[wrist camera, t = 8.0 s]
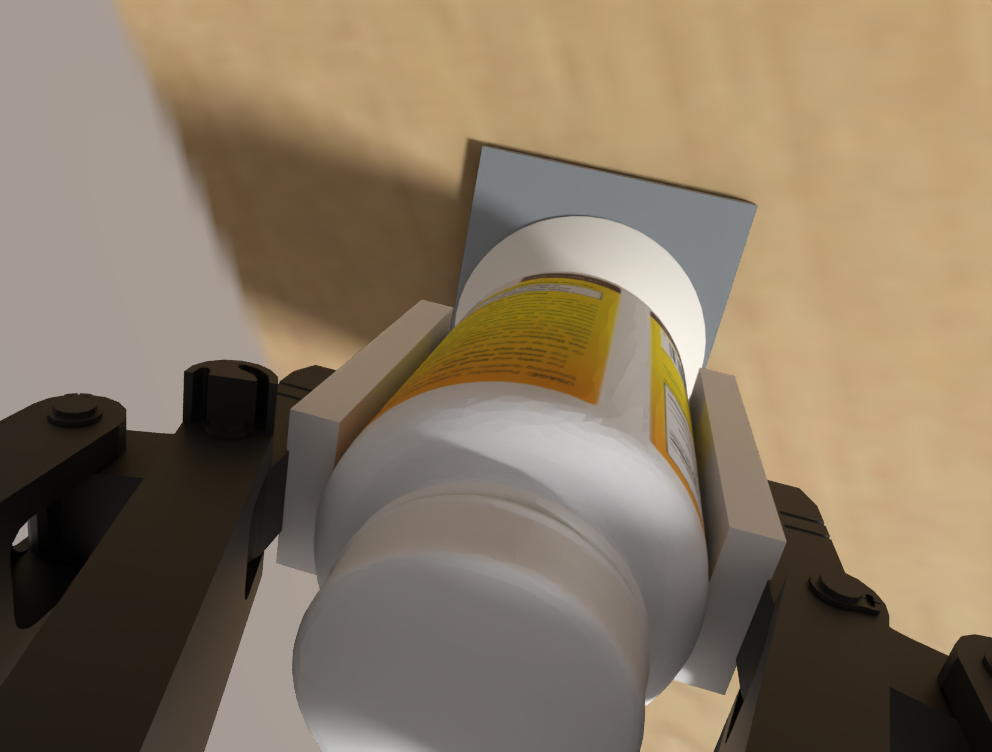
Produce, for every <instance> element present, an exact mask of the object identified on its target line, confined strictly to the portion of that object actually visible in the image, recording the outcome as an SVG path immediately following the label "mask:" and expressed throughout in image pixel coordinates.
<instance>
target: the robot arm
mask: <svg viewBox="0 0 992 752" xmlns="http://www.w3.org/2000/svg"><path fill="white" fill-rule="evenodd" d="M452 312H453V307H450V306H446V305H442V304H438V303H434V302H430V301H425V300H420V301H419V302H418V303H417V304H416V305H414V306H413V307H412V308H411V309H410V310H408V311H407V312H406V313H405V314H404V315H402V316H401V317H400V318H399V319H398V320H396V321H395V322H394V323H393V324H392V325H390V326H389V327H388V328H387V329H386V330H384V331H383V332H382V333H381V334H380V335H378V336H377V337H376V338H375V339H374V340H372V341H371V342H370V343H369V344H368V345H366V346H365V347H364V348H363V349H362V350H360V351H359V352H358V353H357V354H356V355H354V356H353V357H352V358H351V359H350V360H348V361H347V362H346V363H345V364H344V365H343V366H341V367H340V368H339V369H338V370H333V369H329V368H325V367H321V366H317V365H314V366H310V367H307V368H303V369H300V370H296V371H293V372H292V373H291V374H289V375H288V376H286V377H285V378H284V379H282V380H281V381H280V383H279V384H278V377H277V376H276V375H275V374H274V373H273V372H272V371H271V370H270V369H267V368H265V367H263V366H261V365H259V364H254V363H250V362H245V361H236V360H215V361H207V362H203V363H199V364H196V365H193V366H191V367H190V368H188V369H187V370H186V371H184V394H183V397H184V398H183V422H182V424H181V425H180V427H179V428H178V430H177V431H176V433H175V434H165V433H152V432H141V431H130V430H126V409H125V408H124V407H123V406H122V405H121V404H120V403H119V402H117V401H114V400H111V399H109V398H106V397H100V396H94V395H91V394H84V393H83V394H82V393H80V395H78V394H77V393H74V394H66V395H64V396H58V397H52V398H48V399H45V400H42V401H40V402H37V403H34V404H32V405H30V406H28V407H26V408H24V409H22V410H20V411H18V412H17V413H15V414H13V415H11V416H9V417H7V418H5V419H3V420H1V421H0V752H204V750H205V747H206V744H207V741H208V738H209V735H210V732H211V729H212V726H213V723H214V720H215V717H216V714H217V711H218V708H219V705H220V702H221V699H222V696H223V693H224V690H225V686H226V683H227V680H228V677H229V674H230V671H231V668H232V665H233V662H234V659H235V656H236V653H237V650H238V647H239V644H240V641H241V638H242V635H243V631H244V628H245V626H246V622H247V619H248V616H249V613H250V610H251V607H252V604H253V601H254V598H255V595H256V592H257V589H258V586H259V583H260V579H261V577H262V570H263V557H264V550H265V549H266V548H267V547H268V546H269V544H270V543H271V542H272V541H273V540H274V539H275V537H276V536H277V535H278V534H279V538H278V549H277V559H276V560H277V561H276V563H278V564H281V565H285V566H288V567H291V568H294V569H298V570H301V571H305V572H308V573H311V574H315V575H317V574H316V567H315V561H314V535H315V525H316V518H317V512H318V507H319V504H320V501H321V498H322V494H323V491H324V489H325V487H326V485H327V483H328V481H329V479H330V477H331V475H332V473H333V471H334V469H335V467H336V465H337V464H338V462H339V461H340V459H341V458H342V456H343V455H344V454H345V452H346V451H347V450H348V448H349V447H350V446H351V444H352V443H353V441H354V440H355V439H356V438H357V437H358V435H359V434H360V433H361V432H362V431H363V429H364V428H365V427H366V426H367V425H368V424H369V423H370V422H371V421H372V420H373V418H374V417H375V416H376V415H377V414H378V413H379V412H380V410H381V409H382V408H383V407H384V406H385V404H386V403H387V402H388V401H389V399H390V398H392V396H393V395H394V394H395V393H396V392H397V391H398V390H399V389H400V388H401V387H402V386H403V384H404V383H405V382H406V381H407V380H408V379H409V378H410V377H411V376H412V374H413V373H414V372H415V371H416V370H417V369H418V368H419V367H420V365H421V364H422V363H423V362H424V361H425V360H426V359H427V358H428V356H429V355H430V354H431V353H432V352H433V351H434V350H435V349H436V348H437V347H438V345H439V344H440V343H441V342H442V341H443V340H444V339H445V338H446V336H447V335H448V334H449V330H450V324H451V318H452ZM689 409H690V415H691V422H692V430H693V438H694V445H695V455H696V461H697V471H698V479H699V488H700V496H701V504H702V513H703V521H704V530H705V537H706V545H707V554H708V576H709V588H708V599H707V606H706V611H705V616H704V621H703V624H702V627H701V630H700V634H699V636H698V639H697V641H696V644H695V646H694V649H693V651H692V653H691V655H690V657H689V659H688V660H687V662H686V663H685V665H684V666H683V667H682V669H681V670H680V671H679V673H678V674H677V675H676V676H675V678H674V680H675V681H679V682H682V683H685V684H689V685H692V686H696V687H699V688H702V689H706V690H709V691H713V692H716V693H719V694H723V695H725V693H726V690H727V688H728V685H729V683H730V680H731V678H732V676H733V673H734V671H735V668H736V666H737V670H738V676H739V683H740V689H739V692H738V694H737V697H736V699H735V701H734V704H733V706H732V709H731V711H730V713H729V716H728V718H727V721H726V723H725V725H724V728H723V730H722V733H721V735H720V738H719V740H718V742H717V745H716V747H715V750H714V752H992V638H991V637H986V636H981V635H975V634H974V635H967V636H961V637H960V639H959V640H958V641H957V642H956V644H955V645H954V647H953V649H952V651H951V653H950V654H949V656H948V655H945V654H943V653H941V652H939V651H937V650H935V649H932V648H930V647H928V646H926V645H924V644H921V643H919V642H917V641H915V640H913V639H911V638H909V637H907V636H905V635H903V634H901V633H899V632H897V631H895V630H893V629H892V628H890V627H889V614H888V611H887V608H886V605H885V603H884V602H883V601H882V600H881V599H880V597H879V596H878V595H877V594H876V593H875V592H874V591H873V590H872V589H870V588H869V587H868V586H866V585H865V584H864V583H862V582H861V581H859V580H858V579H856V578H854V577H852V576H850V575H848V574H846V573H845V571H844V569H843V567H842V564H841V562H840V559H839V557H838V555H837V552H836V550H835V547H834V545H833V543H832V540H830V539H829V537H830V536H829V533H828V531H827V528H826V526H824V521H823V519H822V516H821V514H820V512H819V509H818V507H817V505H816V504H815V503H814V502H813V501H812V500H811V499H810V498H809V497H808V496H807V495H806V494H805V493H804V492H803V491H802V490H801V489H799V488H796V487H792V486H788V485H785V484H781V483H777V482H773V481H769V480H767V478H766V475H765V471H764V468H763V465H762V462H761V459H760V455H759V452H758V449H757V446H756V443H755V440H754V436H753V433H752V430H751V427H750V424H749V420H748V417H747V414H746V411H745V408H744V404H743V401H742V398H741V395H740V392H739V388H738V385H737V382H736V379H735V376H733V375H729V374H725V373H721V372H716V371H712V370H708V369H704V368H699V371H698V374H697V377H696V381H695V384H694V387H693V390H692V393H691V396H690V399H689ZM26 522H28V537H27V538H25V539H24V540H23V541H21V542H20V543H19V544H17V545H15V546H12V543H13V541H14V539H15V537H16V535H17V533H18V531H19V529H20V528H21V527H22V526H23V525H24V524H25V523H26Z"/></svg>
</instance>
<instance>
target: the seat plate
mask: <svg viewBox="0 0 992 752" xmlns="http://www.w3.org/2000/svg"><path fill="white" fill-rule="evenodd" d="M756 209H757V205H756V204H755V203H751V202H746V201H741V200H737V199H732V198H728V197H723V196H718V195H714V194H709V193H704V192H700V191H695V190H691V189H686V188H681V187H677V186H672V185H667V184H663V183H658V182H654V181H649V180H644V179H640V178H635V177H631V176H626V175H621V174H617V173H612V172H607V171H603V170H598V169H594V168H589V167H584V166H580V165H575V164H570V163H566V162H561V161H557V160H552V159H547V158H543V157H538V156H534V155H529V154H524V153H520V152H515V151H510V150H506V149H501V148H497V147H492V146H487V145H486V146H482V152H481V158H480V163H479V169H478V175H477V181H476V186H475V192H474V198H473V203H472V209H471V215H470V221H469V226H468V232H467V238H466V244H465V249H464V255H463V261H462V267H461V272H460V278H459V284H458V289H457V295H456V301H455V307H454V312H453V318H452V324H451V330H450V332H451V331H452V330H453V328H454V327H455V326H456V325H457V324H458V323H459V322H460V321H461V320H462V318H463V317H464V316H465V315H466V314H467V313H468V312H469V311H470V310H471V309H472V308H473V307H474V306H475V305H476V304H477V303H478V302H479V301H480V300H481V299H483V298H484V297H485V296H486V295H488V294H489V293H491V292H492V291H494V290H495V289H496V288H498V287H500V286H502V285H504V284H506V283H508V282H510V281H513V280H515V279H518V278H521V277H524V276H527V275H531V274H536V273H541V272H551V271H555V272H577V273H583V274H588V275H592V276H596V277H599V278H602V279H605V280H607V281H610V282H613V283H615V284H617V285H619V286H621V287H622V288H624V289H626V290H627V291H629V292H631V293H632V294H634V295H635V296H637V297H638V298H639V299H640V300H642V301H643V302H644V303H645V304H646V305H648V306H649V307H650V308H651V309H652V311H653V312H654V313H655V314H656V315H657V316H658V317H659V318H660V320H661V321H662V322H663V324H664V325H665V327H666V328H667V330H668V331H669V333H670V334H671V336H672V338H673V340H674V343H675V345H676V347H677V349H678V351H679V354H680V357H681V361H682V365H683V368H684V373H685V379H686V385H687V395H688V401H689V399H690V396H691V393H692V390H693V387H694V384H695V381H696V377H697V374H698V371H699V368H704V369H705V368H706V365H707V362H708V359H709V356H710V353H711V349H712V346H713V343H714V340H715V337H716V334H717V331H718V328H719V325H720V321H721V318H722V315H723V312H724V309H725V306H726V303H727V300H728V297H729V293H730V290H731V287H732V284H733V281H734V278H735V275H736V272H737V269H738V265H739V262H740V259H741V256H742V253H743V250H744V247H745V244H746V241H747V237H748V234H749V231H750V228H751V225H752V222H753V219H754V216H755V213H756Z"/></svg>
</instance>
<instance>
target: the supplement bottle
mask: <svg viewBox="0 0 992 752" xmlns="http://www.w3.org/2000/svg"><path fill="white" fill-rule="evenodd" d="M314 561H315V567H316V574H317V580H318V584H319V588H320V590H319V591H318V593H317V594H316V596H315V598H314V599H313V601H312V602H311V604H310V605H309V607H308V609H307V610H306V612H305V614H304V616H303V619H302V621H301V624H300V626H299V629H298V633H297V636H296V640H295V644H294V649H293V662H292V663H293V664H292V667H293V668H292V673H293V681H294V688H295V693H296V698H297V701H298V705H299V708H300V710H301V713H302V715H303V718H304V720H305V723H306V725H307V727H308V730H309V731H310V733H311V734H312V736H313V737H314V739H315V740H316V742H317V744H318V745H319V747H320V748H321V750H322V751H323V752H640V748H641V744H642V740H643V733H644V721H645V706H646V705H647V704H649V703H650V702H651V701H652V700H653V699H655V698H656V697H657V696H658V695H660V694H661V693H662V691H663V690H664V689H665V688H666V687H667V686H668V685H669V684H670V683H671V681H672V680H673V679H674V678H675V676H676V675H677V674H678V673H679V671H680V670H681V669H682V667H683V666H684V665H685V663H686V662H687V660H688V659H689V657H690V655H691V653H692V651H693V649H694V646H695V644H696V641H697V639H698V636H699V634H700V630H701V627H702V624H703V621H704V616H705V611H706V606H707V599H708V588H709V576H708V554H707V545H706V537H705V530H704V521H703V513H702V504H701V496H700V488H699V479H698V471H697V461H696V455H695V445H694V438H693V430H692V422H691V415H690V409H689V401H688V395H687V385H686V379H685V373H684V368H683V365H682V361H681V357H680V354H679V351H678V349H677V347H676V345H675V343H674V340H673V338H672V336H671V334H670V333H669V331H668V330H667V328H666V327H665V325H664V324H663V322H662V321H661V320H660V318H659V317H658V316H657V315H656V314H655V313H654V312H653V311H652V309H651V308H650V307H649V306H648V305H646V304H645V303H644V302H643V301H642V300H640V299H639V298H638V297H637V296H635V295H634V294H632V293H631V292H629V291H627V290H626V289H624V288H622V287H621V286H619V285H617V284H615V283H613V282H610V281H607V280H605V279H602V278H599V277H596V276H592V275H588V274H583V273H577V272H555V271H551V272H541V273H536V274H531V275H527V276H524V277H521V278H518V279H515V280H513V281H510V282H508V283H506V284H504V285H502V286H500V287H498V288H496V289H495V290H494V291H492V292H491V293H489V294H488V295H486V296H485V297H484V298H483V299H481V300H480V301H479V302H478V303H477V304H476V305H475V306H474V307H473V308H472V309H471V310H470V311H469V312H468V313H467V314H466V315H465V316H464V317H463V318H462V320H461V321H460V322H459V323H458V324H457V325H456V326H455V327H454V328H453V330H452V331H451V332H450V333H449V334H448V335H447V336H446V338H445V339H444V340H443V341H442V342H441V343H440V344H439V345H438V347H437V348H436V349H435V350H434V351H433V352H432V353H431V354H430V355H429V356H428V358H427V359H426V360H425V361H424V362H423V363H422V364H421V365H420V367H419V368H418V369H417V370H416V371H415V372H414V373H413V374H412V376H411V377H410V378H409V379H408V380H407V381H406V382H405V383H404V384H403V386H402V387H401V388H400V389H399V390H398V391H397V392H396V393H395V394H394V395H393V396H392V398H390V399H389V401H388V402H387V403H386V404H385V406H384V407H383V408H382V409H381V410H380V412H379V413H378V414H377V415H376V416H375V417H374V418H373V420H372V421H371V422H370V423H369V424H368V425H367V426H366V427H365V428H364V429H363V431H362V432H361V433H360V434H359V435H358V437H357V438H356V439H355V440H354V441H353V443H352V444H351V446H350V447H349V448H348V450H347V451H346V452H345V454H344V455H343V456H342V458H341V459H340V461H339V462H338V464H337V465H336V467H335V469H334V471H333V473H332V475H331V477H330V479H329V481H328V483H327V485H326V487H325V489H324V491H323V494H322V498H321V501H320V504H319V507H318V512H317V518H316V525H315V535H314Z"/></svg>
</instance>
